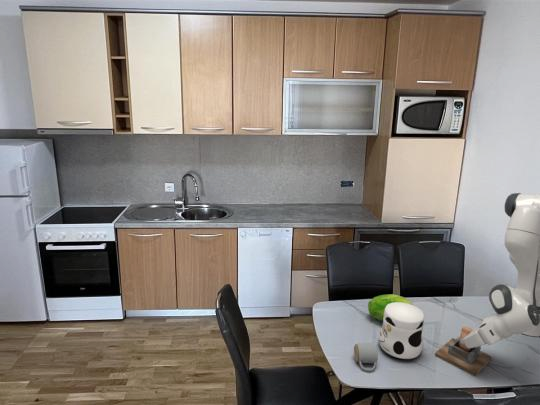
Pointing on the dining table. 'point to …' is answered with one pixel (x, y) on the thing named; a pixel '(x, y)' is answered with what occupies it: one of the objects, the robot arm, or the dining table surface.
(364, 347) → the ceramic mug
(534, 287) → the robot arm
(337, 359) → the dining table surface
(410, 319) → the milk container
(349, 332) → the dining table surface
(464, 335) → the post
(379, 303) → the lettuce
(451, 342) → the stand
